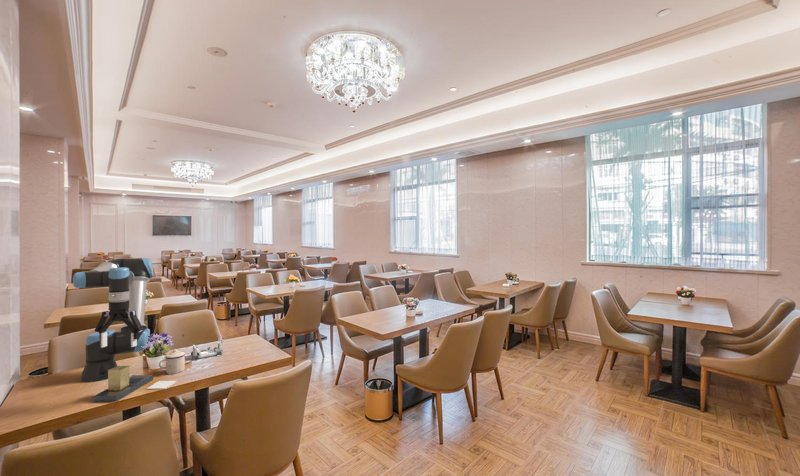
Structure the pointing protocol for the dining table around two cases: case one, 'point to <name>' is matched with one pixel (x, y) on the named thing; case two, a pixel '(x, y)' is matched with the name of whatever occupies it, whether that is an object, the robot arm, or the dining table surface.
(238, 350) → the dining table surface
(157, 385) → the mat
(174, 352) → the teacup with lid
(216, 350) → the silver irregular piece
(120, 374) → the brass block
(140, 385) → the dark grey tray
